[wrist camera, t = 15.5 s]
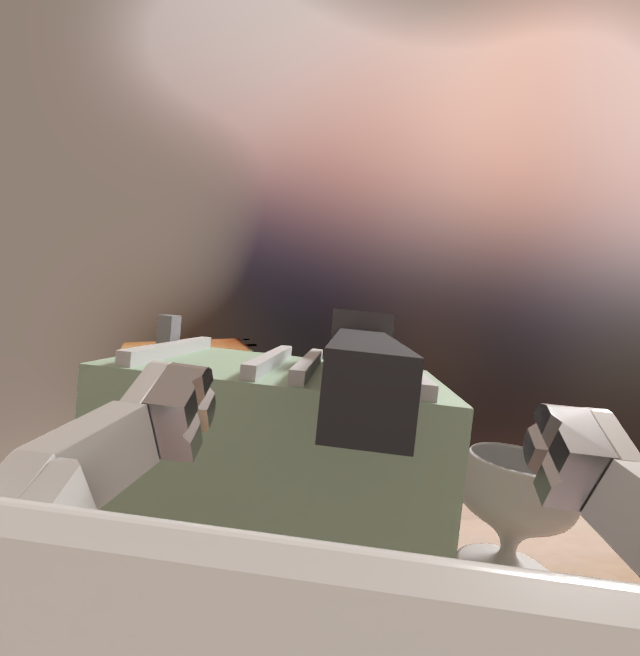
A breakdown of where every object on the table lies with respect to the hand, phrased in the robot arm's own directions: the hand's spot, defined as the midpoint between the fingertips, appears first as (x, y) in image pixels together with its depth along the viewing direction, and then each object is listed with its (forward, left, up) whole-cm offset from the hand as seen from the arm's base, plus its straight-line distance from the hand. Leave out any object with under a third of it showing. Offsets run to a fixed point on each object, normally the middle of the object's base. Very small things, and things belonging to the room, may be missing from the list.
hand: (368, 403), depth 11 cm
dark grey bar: (+5, -16, -3) cm, 17 cm away
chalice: (-6, -48, -29) cm, 56 cm away
